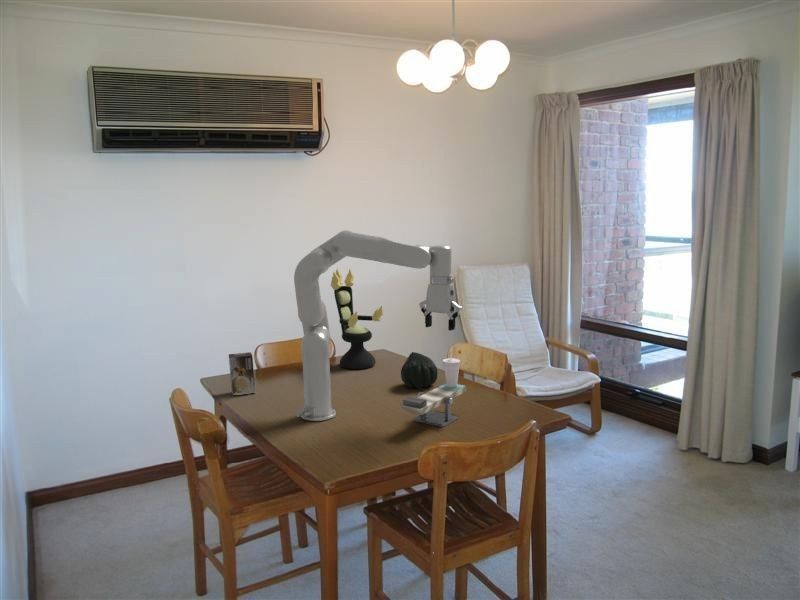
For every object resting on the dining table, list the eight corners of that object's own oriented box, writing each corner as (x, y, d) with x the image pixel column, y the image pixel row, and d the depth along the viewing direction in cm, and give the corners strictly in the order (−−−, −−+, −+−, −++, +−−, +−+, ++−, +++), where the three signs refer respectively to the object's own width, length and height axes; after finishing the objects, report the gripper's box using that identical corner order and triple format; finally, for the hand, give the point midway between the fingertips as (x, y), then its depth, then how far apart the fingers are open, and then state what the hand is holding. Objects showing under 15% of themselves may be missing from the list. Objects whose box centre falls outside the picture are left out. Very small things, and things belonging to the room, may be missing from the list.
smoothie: (459, 383, 244) (459, 346, 241) (461, 388, 237) (461, 350, 235) (442, 383, 244) (441, 346, 241) (444, 389, 237) (443, 351, 235)
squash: (447, 376, 268) (432, 344, 275) (415, 383, 261) (401, 350, 268) (434, 391, 279) (420, 361, 286) (403, 399, 272) (390, 367, 278)
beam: (421, 415, 218) (421, 403, 217) (401, 410, 223) (401, 399, 222) (466, 391, 241) (466, 380, 240) (447, 388, 246) (447, 377, 245)
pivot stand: (444, 427, 225) (444, 402, 224) (411, 420, 233) (410, 395, 231) (459, 419, 233) (459, 394, 232) (427, 412, 241) (426, 388, 239)
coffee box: (253, 389, 274) (251, 351, 271) (255, 394, 268) (253, 355, 265) (230, 392, 271) (228, 353, 268) (232, 396, 265) (229, 357, 262)
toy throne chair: (358, 373, 296) (355, 272, 288) (322, 366, 309) (318, 270, 302) (385, 364, 310) (382, 268, 303) (349, 357, 324) (346, 265, 317)
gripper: (467, 281, 232) (466, 329, 235) (425, 277, 242) (425, 323, 245) (455, 283, 226) (455, 333, 229) (414, 280, 236) (414, 327, 239)
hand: (439, 328), depth 237 cm, fingers open, 9 cm apart
